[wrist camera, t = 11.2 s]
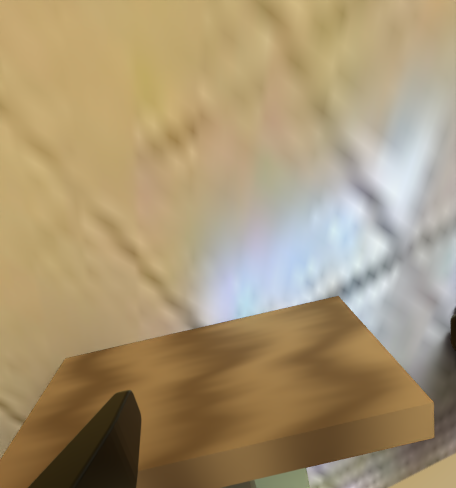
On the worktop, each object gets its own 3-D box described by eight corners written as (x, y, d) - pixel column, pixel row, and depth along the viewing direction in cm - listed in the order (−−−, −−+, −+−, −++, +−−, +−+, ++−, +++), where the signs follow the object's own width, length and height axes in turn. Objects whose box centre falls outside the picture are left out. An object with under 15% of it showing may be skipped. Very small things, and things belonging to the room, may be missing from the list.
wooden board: (338, 295, 23) (433, 402, 14) (347, 370, 25) (435, 509, 16) (65, 358, 23) (-33, 510, 13) (96, 428, 25) (30, 604, 15)
